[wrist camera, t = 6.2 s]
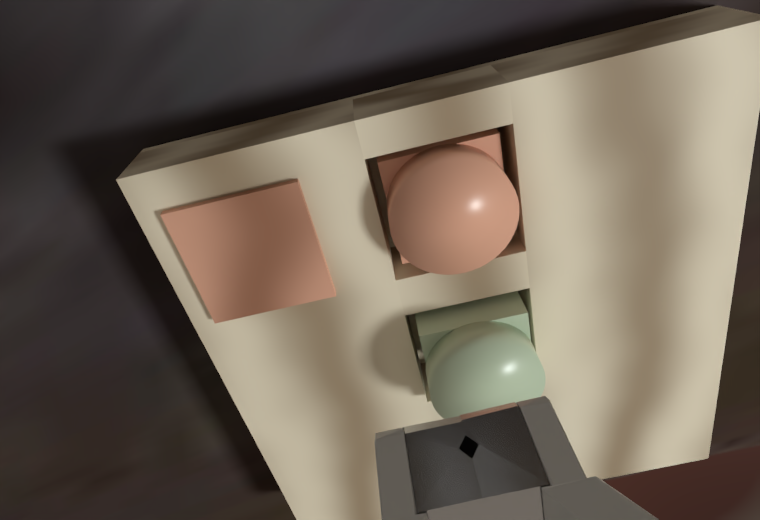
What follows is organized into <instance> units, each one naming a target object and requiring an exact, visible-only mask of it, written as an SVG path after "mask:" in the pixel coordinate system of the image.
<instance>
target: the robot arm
mask: <svg viewBox="0 0 760 520" xmlns="http://www.w3.org/2000/svg"><path fill="white" fill-rule="evenodd" d="M374 443H375V454H376V464H377V475H378V486H379V496H380V507H381V518H382V520H659V519H657V518H655V517H654V516H653V515H651V514H650V513H648V512H647V511H646V510H644V509H643V508H641V507H640V506H638V505H637V504H635V503H634V502H633V501H631V500H630V499H628V498H627V497H625V496H624V495H623V494H621V493H620V492H618V491H617V490H615V489H614V488H612V487H611V486H609V485H608V484H607V483H605V482H604V481H602V480H601V479H600V478H598V477H597V476H594V477H588V478H587V477H586V475H585V473H584V471H583V469H582V467H581V465H580V463H579V460H578V458H577V456H576V454H575V452H574V450H573V448H572V446H571V444H570V442H569V440H568V437H567V435H566V433H565V431H564V429H563V427H562V425H561V423H560V421H559V419H558V416H557V414H556V412H555V410H554V408H553V406H552V404H551V402H550V400H549V399H548V398H547V397H546V396H542V397H537V398H533V399H528V400H524V401H519V402H517V403H515V402H513V403H508V404H504V405H500V406H496V407H491V408H487V409H483V410H479V411H474V412H470V413H466V414H462V415H460V416H457V417H452V418H447V419H442V420H437V421H431V422H426V423H421V424H416V425H411V426H406V427H402V428H397V429H392V430H387V431H382V432H378V433H375V441H374Z"/></svg>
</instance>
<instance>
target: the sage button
mask: <svg viewBox="0 0 760 520" xmlns="http://www.w3.org/2000/svg"><path fill="white" fill-rule="evenodd" d="M415 318H416V323H417V328H418V333H419V338H420V342H421V346H422V350H423V354H424V358H425V362H426V376H427V381H428V387H429V392H430V397H431V402H432V404H433V407H434V408H435V410H436V411H437V413H438V414H439V415H440V416H441V417H442V418H444V419H447V418H452V417H457V416H460V415H462V414H466V413H470V412H474V411H479V410H483V409H487V408H491V407H496V406H500V405H504V404H508V403H513V402H515V403H517V402H519V401H524V400H528V399H533V398H537V397H541V395H542V393H543V391H544V388H545V381H546V377H545V371H544V369H543V366H542V364H541V362H540V360H539V358H538V355H537V353H536V351H535V349H534V347H533V344H532V342H531V336H530V327H529V317H528V312H527V310H526V307H525V305H524V303H523V301H522V299H521V297H520V295H519V293H518V291H514V292H509V293H505V294H500V295H496V296H491V297H487V298H482V299H478V300H473V301H469V302H464V303H460V304H455V305H451V306H446V307H442V308H437V309H432V310H428V311H423V312H419V313H415Z"/></svg>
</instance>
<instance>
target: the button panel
mask: <svg viewBox="0 0 760 520" xmlns="http://www.w3.org/2000/svg"><path fill="white" fill-rule="evenodd" d="M759 110H760V14H755V13H751V12H746V11H741V10H736V9H732V8H727V7H722V6H718V5H716V6H712V7H708V8H704V9H700V10H696V11H692V12H688V13H684V14H680V15H676V16H672V17H668V18H664V19H660V20H656V21H652V22H648V23H644V24H640V25H636V26H632V27H628V28H624V29H620V30H616V31H612V32H608V33H604V34H600V35H596V36H592V37H588V38H584V39H580V40H576V41H572V42H568V43H564V44H560V45H556V46H552V47H548V48H544V49H541V50H537V51H533V52H529V53H525V54H521V55H517V56H513V57H509V58H505V59H501V60H497V61H493V62H489V63H485V64H481V65H477V66H473V67H469V68H465V69H461V70H457V71H453V72H449V73H445V74H441V75H437V76H433V77H429V78H425V79H421V80H417V81H413V82H409V83H405V84H401V85H397V86H393V87H389V88H385V89H381V90H377V91H373V92H369V93H365V94H361V95H357V96H353V97H349V98H345V99H341V100H337V101H333V102H329V103H325V104H321V105H317V106H313V107H309V108H305V109H301V110H297V111H293V112H289V113H285V114H281V115H277V116H273V117H269V118H265V119H261V120H257V121H253V122H249V123H245V124H241V125H237V126H233V127H229V128H225V129H221V130H217V131H213V132H209V133H205V134H201V135H197V136H193V137H189V138H185V139H181V140H177V141H173V142H169V143H165V144H161V145H157V146H153V147H149V148H145V149H143V150H142V151H141V152H140V153H139V154H138V155H137V156H136V158H135V159H134V160H133V161H132V162H131V163H130V164H129V165H128V167H127V168H126V169H125V170H124V171H123V172H122V173H121V174H120V176H119V177H118V178H117V179H116V181H117V183H118V185H119V187H120V188H121V190H122V192H123V194H124V196H125V198H126V200H127V202H128V203H129V205H130V207H131V209H132V211H133V213H134V215H135V217H136V219H137V220H138V222H139V224H140V226H141V228H142V230H143V232H144V234H145V235H146V237H147V239H148V241H149V243H150V245H151V247H152V249H153V250H154V252H155V254H156V256H157V258H158V260H159V262H160V264H161V265H162V267H163V269H164V271H165V273H166V275H167V277H168V279H169V281H170V282H171V284H172V286H173V288H174V290H175V292H176V294H177V296H178V297H179V299H180V301H181V303H182V305H183V307H184V309H185V311H186V312H187V314H188V316H189V318H190V320H191V322H192V324H193V326H194V327H195V329H196V331H197V333H198V335H199V337H200V339H201V341H202V343H203V344H204V346H205V348H206V350H207V352H208V354H209V356H210V358H211V359H212V361H213V363H214V365H215V367H216V369H217V371H218V373H219V374H220V376H221V378H222V380H223V382H224V384H225V386H226V388H227V389H228V391H229V393H230V395H231V397H232V399H233V401H234V403H235V405H236V406H237V408H238V410H239V412H240V414H241V416H242V418H243V420H244V421H245V423H246V425H247V427H248V429H249V431H250V433H251V435H252V436H253V438H254V440H255V442H256V444H257V446H258V448H259V450H260V452H261V453H262V455H263V457H264V459H265V461H266V463H267V465H268V467H269V468H270V470H271V472H272V474H273V476H274V478H275V480H276V482H277V483H278V485H279V487H280V489H281V491H282V493H283V495H284V497H285V498H286V500H287V502H288V504H289V506H290V508H291V510H292V512H293V514H294V515H295V517H296V519H297V520H382V518H381V507H380V496H379V486H378V475H377V464H376V454H375V443H374V441H375V433H378V432H382V431H387V430H392V429H397V428H402V427H406V426H411V425H416V424H421V423H426V422H431V421H437V420H442V419H444V418H442V417H441V416H440V415H439V414H438V413H437V411H436V410H435V408H434V407H433V404H432V402H431V397H430V392H429V387H428V381H427V376H426V362H425V358H424V354H423V350H422V346H421V342H420V338H419V333H418V328H417V323H416V318H415V313H419V312H423V311H428V310H432V309H437V308H442V307H446V306H451V305H455V304H460V303H464V302H469V301H473V300H478V299H482V298H487V297H491V296H496V295H500V294H505V293H509V292H514V291H518V293H519V295H520V297H521V299H522V301H523V303H524V305H525V307H526V310H527V312H528V317H529V327H530V336H531V342H532V344H533V347H534V349H535V351H536V353H537V355H538V358H539V360H540V362H541V364H542V366H543V369H544V371H545V377H546V381H545V388H544V391H543V393H542V395H541V397H542V396H546V397H547V398H548V399H549V400H550V402H551V404H552V406H553V408H554V410H555V412H556V414H557V416H558V419H559V421H560V423H561V425H562V427H563V429H564V431H565V433H566V435H567V437H568V440H569V442H570V444H571V446H572V448H573V450H574V452H575V454H576V456H577V458H578V460H579V463H580V465H581V467H582V469H583V471H584V473H585V475H586V477H587V478H588V477H594V476H597V477H598V478H600V479H605V478H610V477H616V476H621V475H626V474H631V473H636V472H641V471H646V470H651V469H656V468H662V467H667V466H672V465H677V464H682V463H687V462H692V461H697V460H702V459H708V457H709V451H710V444H711V437H712V430H713V423H714V416H715V410H716V403H717V396H718V389H719V382H720V376H721V369H722V362H723V355H724V348H725V341H726V335H727V328H728V321H729V314H730V307H731V301H732V294H733V287H734V280H735V273H736V266H737V260H738V253H739V246H740V239H741V232H742V225H743V219H744V212H745V205H746V198H747V191H748V185H749V178H750V171H751V164H752V157H753V150H754V144H755V137H756V130H757V123H758V116H759ZM493 128H496V129H497V130H498V132H499V133H500V141H501V150H502V158H503V167H504V173H505V174H506V176H507V177H508V179H509V180H510V182H511V183H512V185H513V187H514V189H515V191H516V194H517V196H518V201H519V221H518V224H517V228H516V230H515V233H514V235H513V237H512V239H511V241H510V242H509V244H508V245H507V246H506V248H505V249H504V250H503V251H502V252H501V253H500V254H499V255H498V256H497V257H496V258H494V259H493V260H492V261H490V262H489V263H487V264H486V265H484V266H482V267H480V268H477V269H475V270H472V271H469V272H466V273H461V274H453V275H442V274H435V273H430V272H427V271H424V270H422V269H419V268H417V267H416V266H414V265H412V264H411V263H410V262H409V263H405V264H402V260H401V256H400V252H399V251H398V250H397V248H396V246H395V244H394V242H393V240H392V237H391V232H390V227H389V220H388V214H387V200H386V196H385V192H384V188H383V184H382V179H381V175H380V171H379V167H378V163H377V156H381V155H385V154H390V153H394V152H398V151H402V150H406V149H410V148H414V147H419V146H423V145H427V144H431V143H435V142H439V141H443V140H447V139H452V138H456V137H460V136H464V135H468V134H472V133H476V132H481V131H485V130H489V129H493Z"/></svg>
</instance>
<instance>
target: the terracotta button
mask: <svg viewBox="0 0 760 520" xmlns="http://www.w3.org/2000/svg"><path fill="white" fill-rule="evenodd" d="M377 163H378V167H379V171H380V175H381V179H382V184H383V188H384V192H385V196H386V200H387V214H388V220H389V227H390V232H391V237H392V240H393V242H394V244H395V246H396V248H397V250H398V251H399V252H400V256H401V260H402V264H405V263H409V262H410V263H411V264H412V265H414V266H416V267H417V268H419V269H422V270H424V271H427V272H430V273H435V274H442V275H453V274H461V273H466V272H469V271H472V270H475V269H477V268H480V267H482V266H484V265H486V264H487V263H489V262H490V261H492V260H493V259H494V258H496V257H497V256H498V255H499V254H500V253H501V252H502V251H503V250H504V249H505V248H506V246H507V245H508V244H509V242H510V241H511V239H512V237H513V235H514V233H515V230H516V228H517V224H518V221H519V201H518V196H517V194H516V191H515V189H514V187H513V185H512V183H511V182H510V180H509V179H508V177H507V176H506V174H505V173H504V167H503V158H502V150H501V141H500V133H499V132H498V130H497V129H496V128H493V129H489V130H485V131H481V132H476V133H472V134H468V135H464V136H460V137H456V138H452V139H447V140H443V141H439V142H435V143H431V144H427V145H423V146H419V147H414V148H410V149H406V150H402V151H398V152H394V153H390V154H385V155H381V156H377Z"/></svg>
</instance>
